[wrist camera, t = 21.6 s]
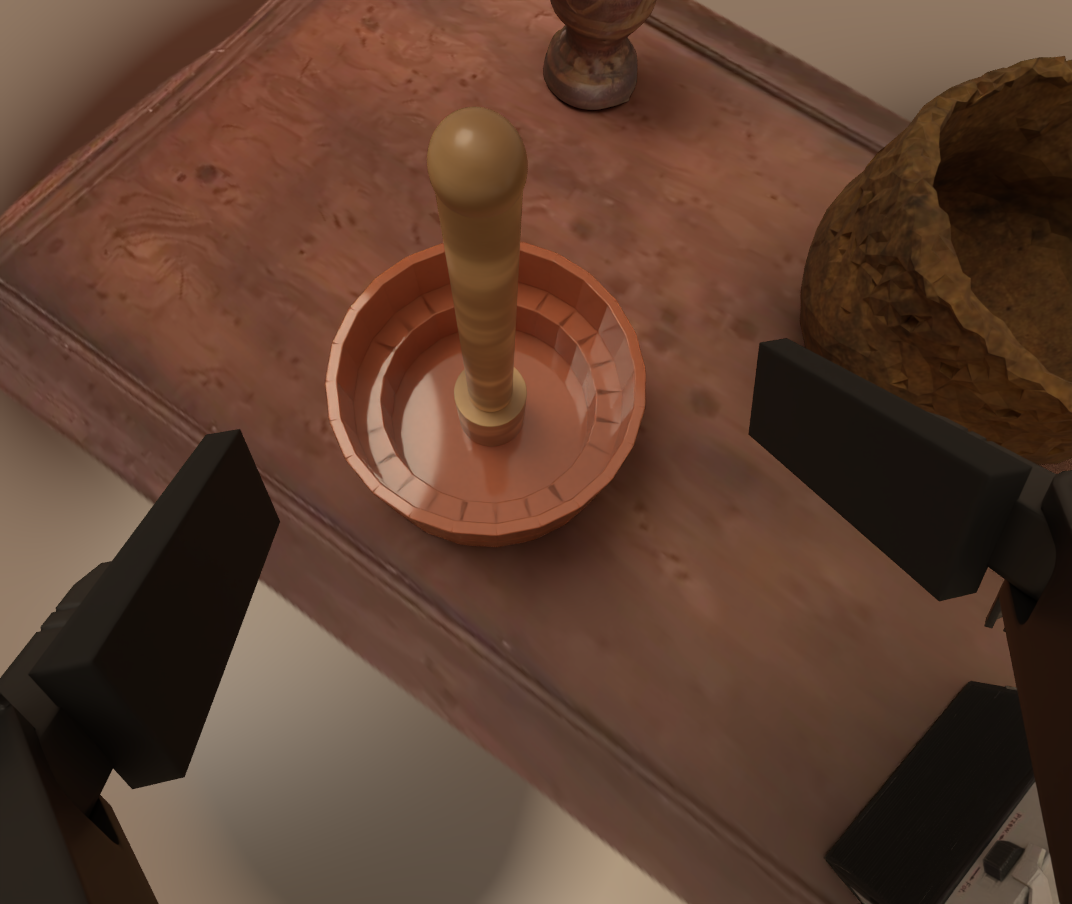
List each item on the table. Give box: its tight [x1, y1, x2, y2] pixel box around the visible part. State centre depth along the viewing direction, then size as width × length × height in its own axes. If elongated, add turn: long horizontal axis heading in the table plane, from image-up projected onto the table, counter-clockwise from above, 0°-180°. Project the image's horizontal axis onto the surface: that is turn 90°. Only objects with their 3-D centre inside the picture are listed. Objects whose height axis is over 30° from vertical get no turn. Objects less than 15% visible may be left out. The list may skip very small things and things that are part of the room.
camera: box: [824, 681, 1059, 904], centre depth 25 cm, size 14×9×10 cm, turn 123°
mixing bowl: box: [325, 241, 646, 547], centre depth 31 cm, size 16×16×7 cm
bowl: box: [800, 56, 1072, 464], centre depth 30 cm, size 19×19×15 cm
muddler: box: [427, 107, 528, 446], centre depth 23 cm, size 4×4×21 cm
